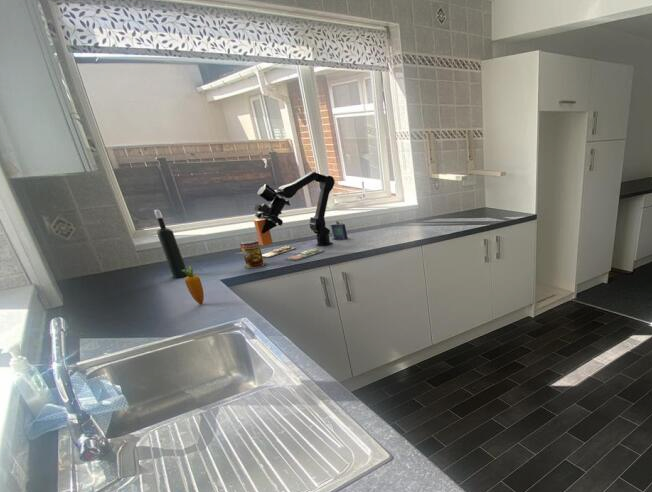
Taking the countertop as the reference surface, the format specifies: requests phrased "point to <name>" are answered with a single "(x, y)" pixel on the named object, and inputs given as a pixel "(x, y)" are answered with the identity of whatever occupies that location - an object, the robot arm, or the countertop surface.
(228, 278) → the countertop surface
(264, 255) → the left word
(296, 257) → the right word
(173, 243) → the wine bottle
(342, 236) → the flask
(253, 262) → the canned food
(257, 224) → the orange rectangular block
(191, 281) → the carrot
